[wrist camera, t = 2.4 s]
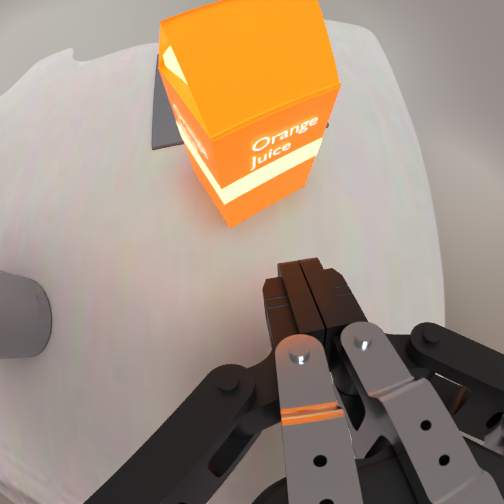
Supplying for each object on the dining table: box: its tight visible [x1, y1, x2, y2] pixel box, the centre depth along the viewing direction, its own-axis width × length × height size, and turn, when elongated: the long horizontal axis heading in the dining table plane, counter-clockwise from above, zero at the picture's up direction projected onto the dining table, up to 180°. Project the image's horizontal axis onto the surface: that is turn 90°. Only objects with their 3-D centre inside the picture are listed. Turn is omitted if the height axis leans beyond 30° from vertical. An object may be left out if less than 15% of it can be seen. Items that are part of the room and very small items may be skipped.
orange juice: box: [158, 0, 341, 228], centre depth 19 cm, size 8×9×20 cm
